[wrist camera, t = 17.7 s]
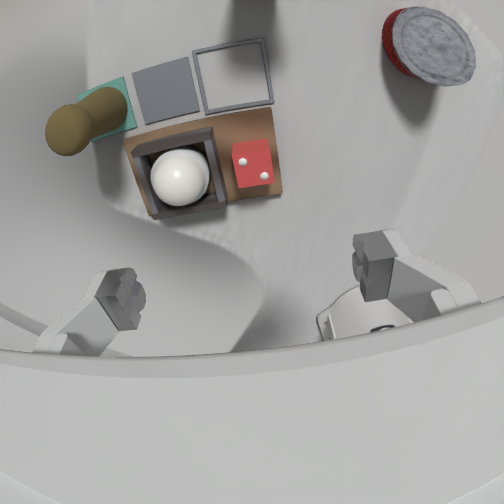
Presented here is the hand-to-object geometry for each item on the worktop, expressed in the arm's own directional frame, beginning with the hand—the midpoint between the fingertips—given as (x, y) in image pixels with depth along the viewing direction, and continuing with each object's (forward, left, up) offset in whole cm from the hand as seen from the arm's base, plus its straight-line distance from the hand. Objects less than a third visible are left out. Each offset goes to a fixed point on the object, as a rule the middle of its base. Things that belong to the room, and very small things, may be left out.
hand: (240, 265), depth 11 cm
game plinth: (-5, +6, -27) cm, 28 cm away
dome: (-5, +8, -26) cm, 27 cm away
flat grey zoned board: (+5, +8, -27) cm, 29 cm away
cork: (+5, +16, -27) cm, 32 cm away
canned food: (+8, -23, -27) cm, 37 cm away
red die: (-5, 0, -26) cm, 26 cm away
